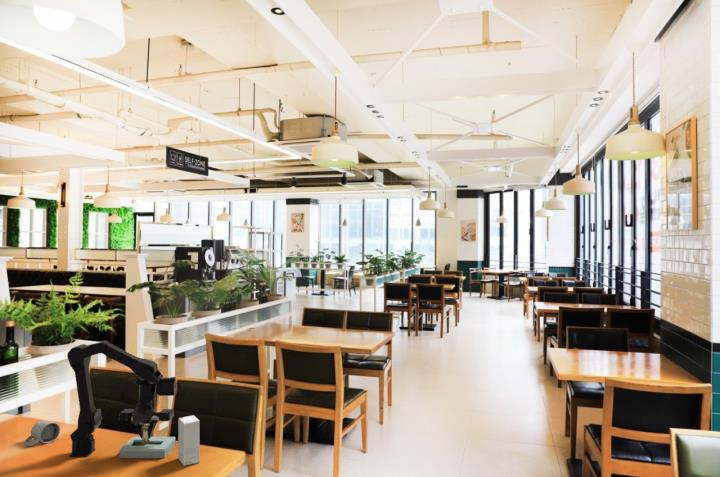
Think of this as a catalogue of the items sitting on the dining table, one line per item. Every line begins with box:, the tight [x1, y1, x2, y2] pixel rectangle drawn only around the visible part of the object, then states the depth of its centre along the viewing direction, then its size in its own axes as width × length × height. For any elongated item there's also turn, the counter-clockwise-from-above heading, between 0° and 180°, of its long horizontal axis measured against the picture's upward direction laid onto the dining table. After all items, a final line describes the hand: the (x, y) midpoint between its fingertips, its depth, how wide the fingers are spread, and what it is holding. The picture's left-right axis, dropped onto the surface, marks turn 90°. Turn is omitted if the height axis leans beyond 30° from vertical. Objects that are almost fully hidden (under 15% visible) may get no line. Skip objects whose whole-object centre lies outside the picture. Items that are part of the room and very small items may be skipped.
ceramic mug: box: [24, 420, 61, 447], centre depth 190 cm, size 11×8×8 cm
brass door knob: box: [140, 423, 152, 446], centre depth 184 cm, size 5×5×9 cm
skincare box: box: [177, 415, 201, 467], centre depth 177 cm, size 8×6×15 cm
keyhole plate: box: [119, 436, 176, 459], centre depth 184 cm, size 16×12×3 cm
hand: (145, 438), depth 184 cm, fingers closed on brass door knob, 2 cm apart
